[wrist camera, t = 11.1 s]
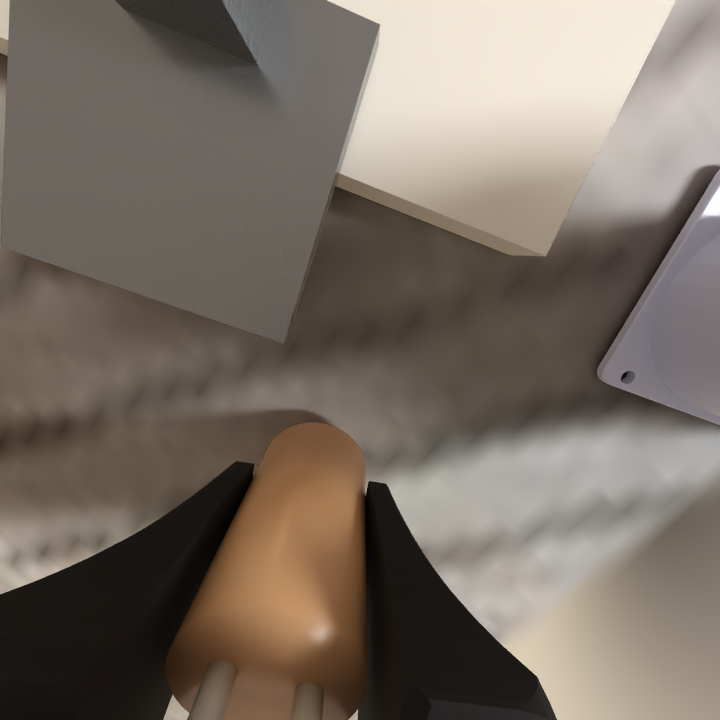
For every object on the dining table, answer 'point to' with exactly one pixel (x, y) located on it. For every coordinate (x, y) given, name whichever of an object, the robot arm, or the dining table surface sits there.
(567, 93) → the socket plate
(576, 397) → the dining table surface
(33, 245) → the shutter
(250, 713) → the plug peg
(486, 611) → the dining table surface
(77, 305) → the dining table surface
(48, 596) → the robot arm
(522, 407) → the dining table surface
